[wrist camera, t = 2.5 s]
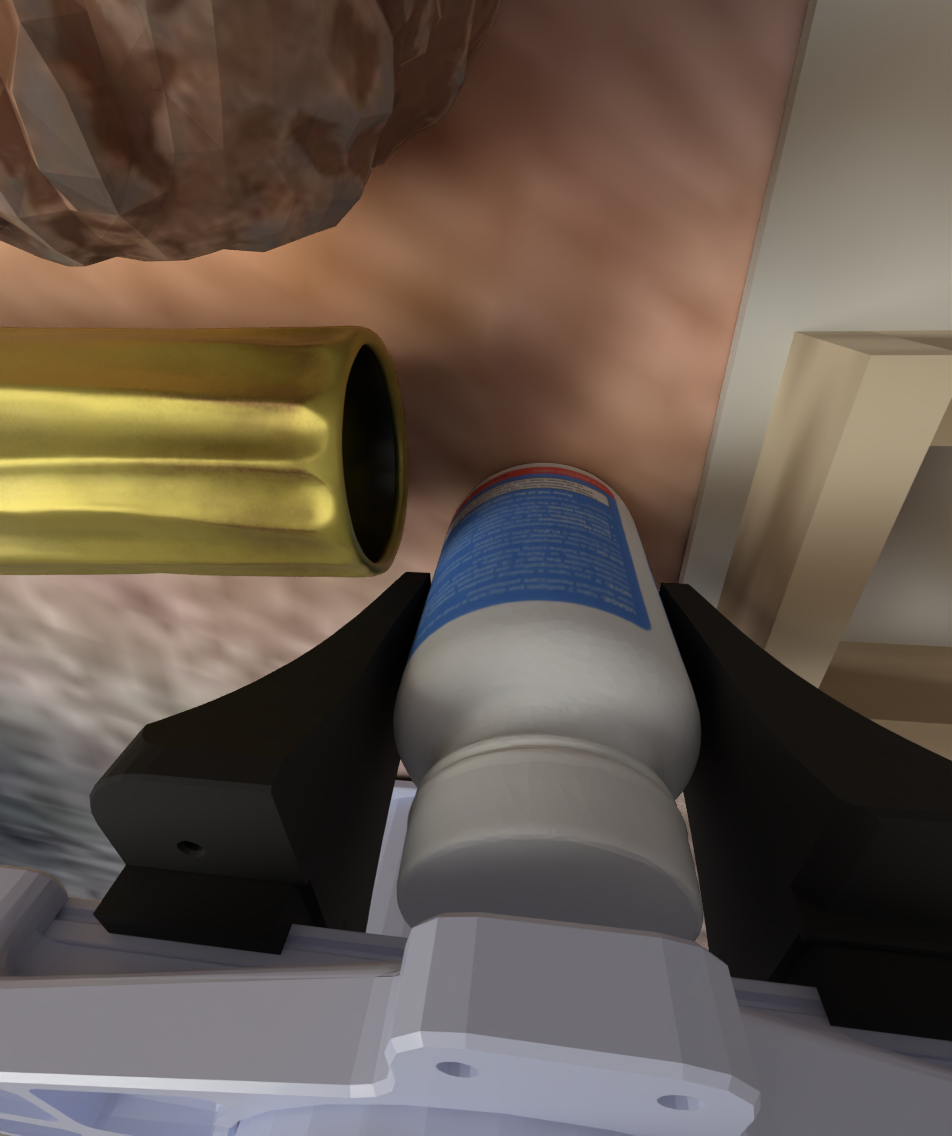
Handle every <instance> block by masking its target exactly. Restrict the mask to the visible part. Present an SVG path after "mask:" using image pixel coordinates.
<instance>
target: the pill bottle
mask: <svg viewBox="0 0 952 1136" xmlns="http://www.w3.org/2000/svg"><path fill="white" fill-rule="evenodd" d="M393 725H394V737H395V742H396V746H397V750H398V753H399V756H400V758H401V761H402V763H403V765H404V767H405V769H406V771H407V772H408V774H409V776H410V778H411V779H412V781H413V782H414V784H415V785H416V787H417V788H418V789H417V791H416V795H415V797H414V799H413V801H412V804H411V807H410V810H409V814H408V821H407V833H406V837H405V842H404V847H403V853H402V858H401V864H400V869H399V874H398V880H397V902H398V906H399V910H400V912H401V914H402V916H403V918H404V920H405V921H406V923H407V924H408V925H409V926H410V927H411V929H412V928H413V927H414V926H416V925H417V924H419V923H420V922H422V921H424V920H427V919H429V918H432V917H434V916H437V915H439V914H442V913H450V912H484V913H492V914H501V915H510V916H519V917H528V918H536V919H545V920H554V921H563V922H571V923H580V924H589V925H598V926H607V927H615V928H624V929H633V930H642V931H651V932H659V933H663V934H667V935H671V936H675V937H679V938H683V939H687V940H691V941H695V940H696V939H697V937H698V936H699V933H700V931H701V928H702V921H703V908H702V900H701V895H700V891H699V886H698V881H697V877H696V872H695V867H694V863H693V859H692V854H691V850H690V846H689V842H688V832H687V828H686V824H685V821H684V819H683V817H682V815H681V813H680V811H679V810H678V808H677V805H676V802H675V800H676V799H677V798H678V796H679V795H680V794H681V793H682V792H683V790H684V789H685V787H686V786H687V784H688V782H689V781H690V779H691V777H692V774H693V772H694V770H695V767H696V764H697V760H698V757H699V752H700V744H701V724H700V713H699V709H698V705H697V702H696V698H695V694H694V691H693V688H692V685H691V682H690V679H689V677H688V674H687V671H686V668H685V665H684V662H683V660H682V657H681V654H680V651H679V649H678V646H677V643H676V640H675V637H674V635H673V632H672V629H671V626H670V623H669V620H668V617H667V615H666V612H665V609H664V606H663V603H662V600H661V598H660V595H659V592H658V589H657V586H656V583H655V580H654V577H653V574H652V571H651V568H650V565H649V562H648V559H647V557H646V554H645V551H644V548H643V545H642V542H641V539H640V536H639V533H638V530H637V527H636V525H635V522H634V520H633V518H632V516H631V514H630V512H629V510H628V508H627V507H626V505H625V504H624V502H623V501H622V500H621V498H620V497H619V496H618V495H617V494H616V493H615V491H614V490H613V489H612V488H610V487H609V486H608V485H607V484H606V483H604V482H603V481H602V480H600V479H599V478H597V477H596V476H594V475H592V474H590V473H588V472H586V471H583V470H581V469H578V468H575V467H572V466H567V465H563V464H556V463H531V464H523V465H519V466H514V467H511V468H508V469H506V470H503V471H501V472H499V473H496V474H494V475H492V476H491V477H489V478H487V479H486V480H484V481H483V482H481V483H480V484H479V485H478V486H476V487H475V488H474V489H473V490H472V491H471V492H470V493H469V494H468V495H467V496H466V497H465V499H464V500H463V501H462V503H461V504H460V506H459V507H458V509H457V511H456V513H455V515H454V517H453V519H452V521H451V523H450V526H449V528H448V532H447V535H446V538H445V542H444V545H443V548H442V551H441V554H440V558H439V561H438V564H437V567H436V570H435V574H434V577H433V580H432V583H431V586H430V590H429V593H428V596H427V599H426V602H425V605H424V609H423V612H422V615H421V618H420V621H419V625H418V628H417V631H416V634H415V637H414V640H413V644H412V647H411V650H410V653H409V656H408V659H407V662H406V665H405V669H404V672H403V675H402V679H401V683H400V686H399V690H398V693H397V698H396V702H395V708H394V714H393Z"/></svg>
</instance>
